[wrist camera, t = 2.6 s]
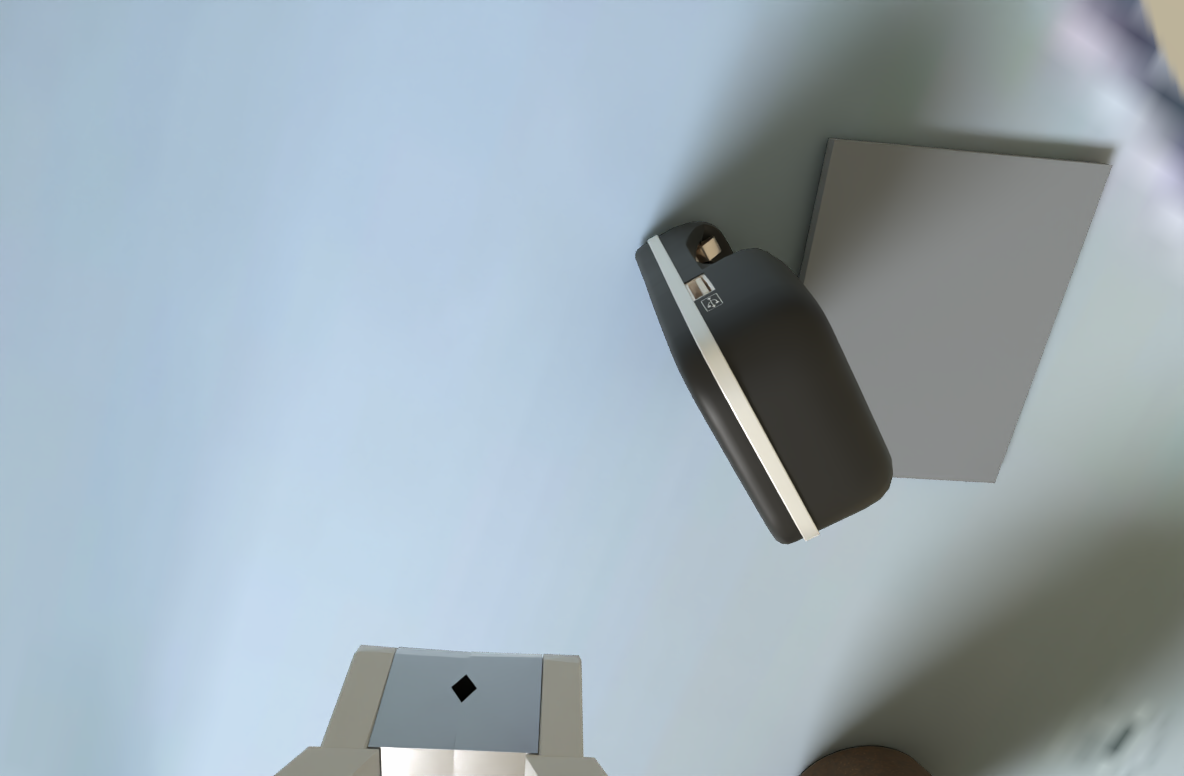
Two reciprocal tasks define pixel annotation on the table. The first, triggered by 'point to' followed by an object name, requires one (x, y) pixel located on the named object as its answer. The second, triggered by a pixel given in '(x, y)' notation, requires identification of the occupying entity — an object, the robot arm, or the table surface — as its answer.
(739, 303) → the battery charger
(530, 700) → the robot arm
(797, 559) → the table surface
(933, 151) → the mat
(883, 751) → the plant pot
